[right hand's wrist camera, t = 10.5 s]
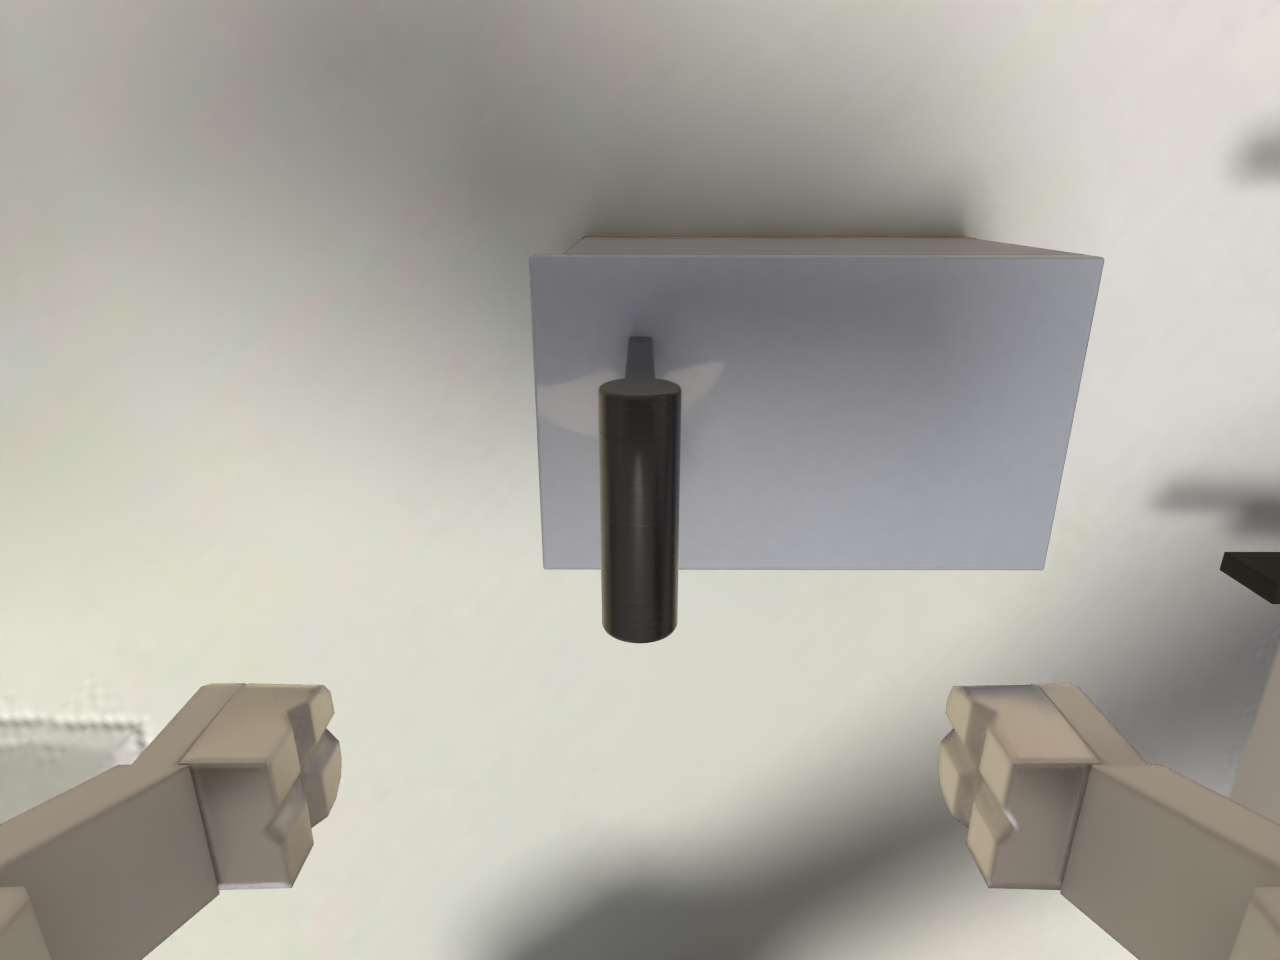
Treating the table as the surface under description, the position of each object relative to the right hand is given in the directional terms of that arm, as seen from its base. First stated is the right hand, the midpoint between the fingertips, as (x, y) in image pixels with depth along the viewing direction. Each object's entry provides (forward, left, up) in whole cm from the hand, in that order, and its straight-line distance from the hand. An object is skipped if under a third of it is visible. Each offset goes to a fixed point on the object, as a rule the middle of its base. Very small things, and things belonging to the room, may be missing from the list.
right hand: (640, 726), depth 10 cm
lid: (+3, +4, -15) cm, 16 cm away
